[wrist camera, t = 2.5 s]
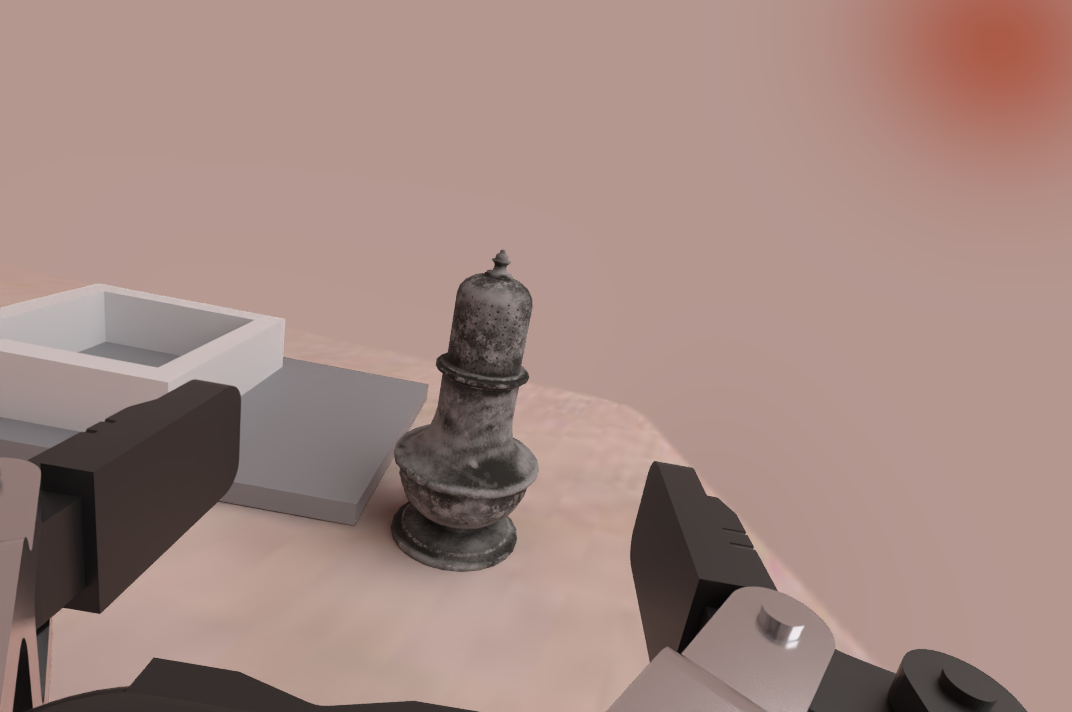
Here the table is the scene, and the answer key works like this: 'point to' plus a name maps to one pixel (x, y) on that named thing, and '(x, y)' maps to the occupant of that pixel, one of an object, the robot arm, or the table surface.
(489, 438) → the salt shaker
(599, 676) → the table surface
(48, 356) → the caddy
